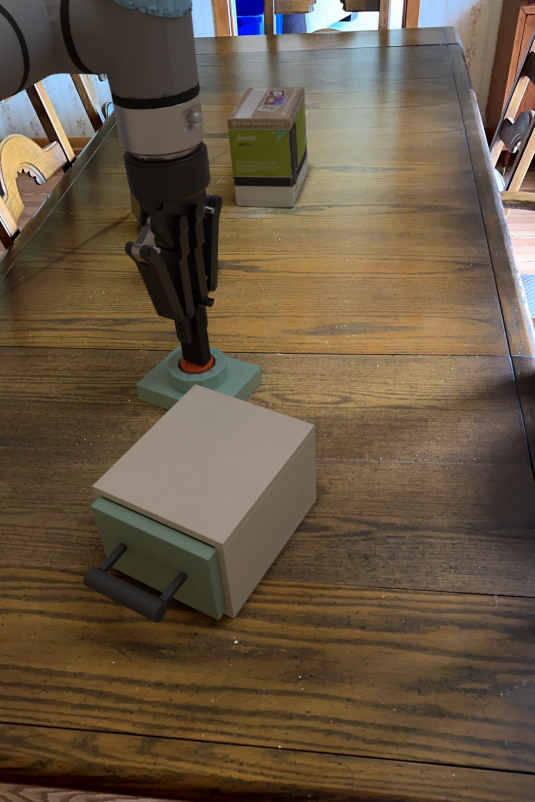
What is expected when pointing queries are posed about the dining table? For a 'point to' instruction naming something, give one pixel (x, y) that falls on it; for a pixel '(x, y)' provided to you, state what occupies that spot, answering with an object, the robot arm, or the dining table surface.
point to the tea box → (268, 146)
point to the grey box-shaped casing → (222, 481)
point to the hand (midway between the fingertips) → (197, 359)
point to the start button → (195, 367)
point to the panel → (198, 379)
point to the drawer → (154, 564)
